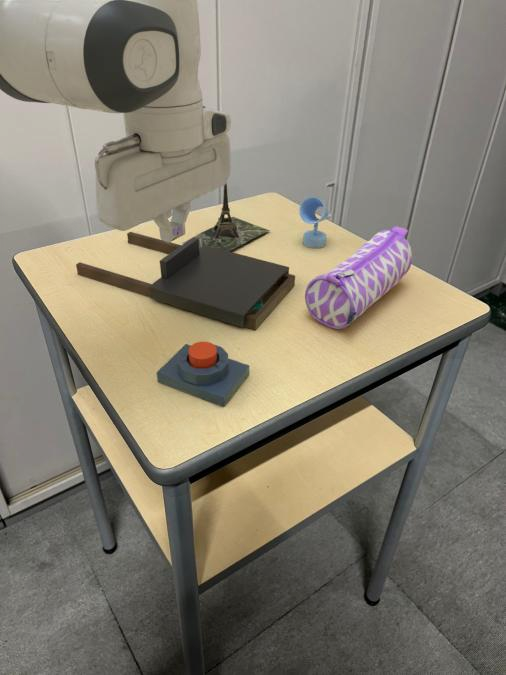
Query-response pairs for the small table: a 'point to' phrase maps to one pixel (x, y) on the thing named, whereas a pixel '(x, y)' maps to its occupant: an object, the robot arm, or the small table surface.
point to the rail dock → (165, 247)
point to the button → (202, 355)
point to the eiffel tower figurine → (229, 230)
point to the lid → (214, 281)
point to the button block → (204, 376)
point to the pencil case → (359, 279)
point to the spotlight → (313, 222)
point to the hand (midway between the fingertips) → (173, 237)
